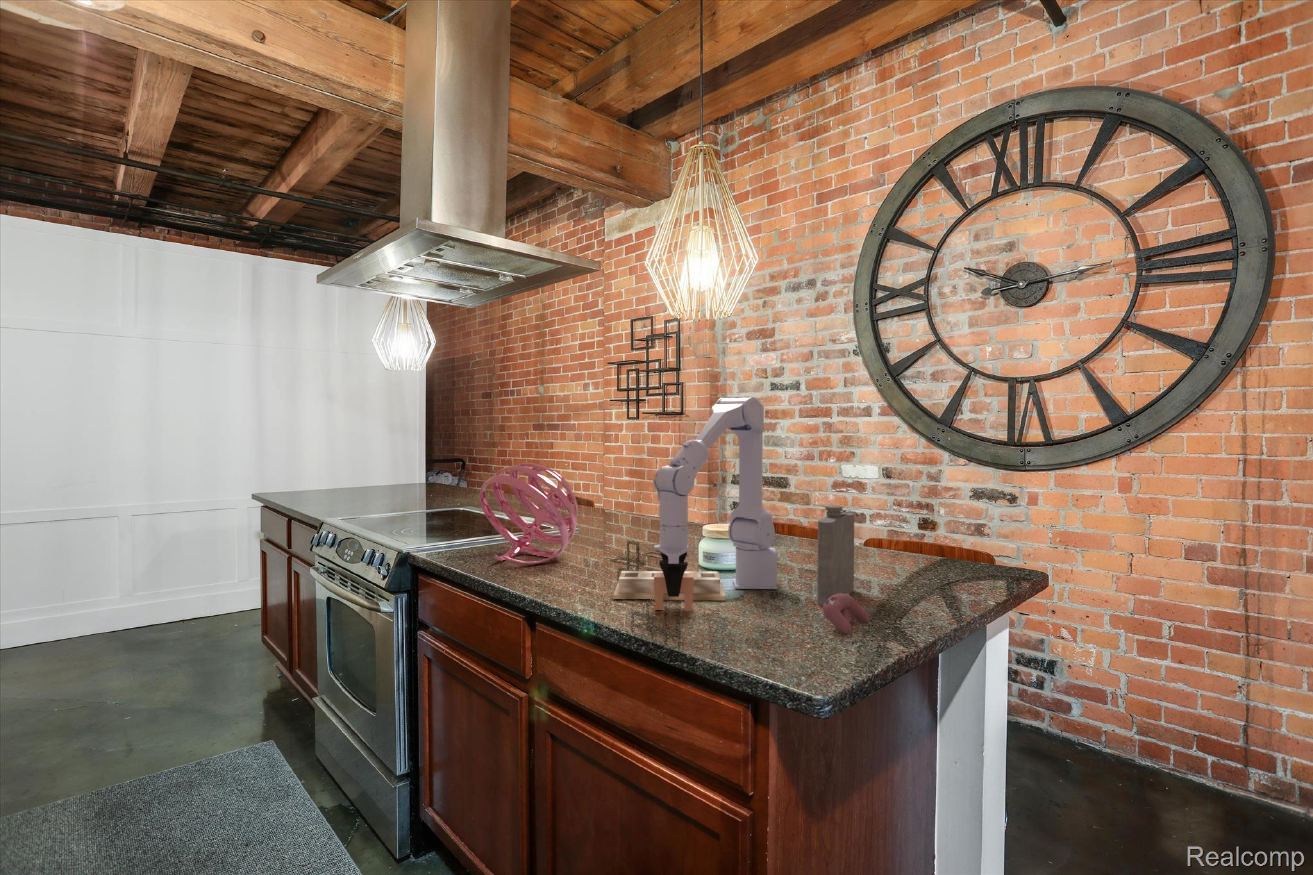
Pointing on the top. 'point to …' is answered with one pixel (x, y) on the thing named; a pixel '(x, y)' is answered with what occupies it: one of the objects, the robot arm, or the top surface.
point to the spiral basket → (532, 510)
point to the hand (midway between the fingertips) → (673, 590)
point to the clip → (686, 587)
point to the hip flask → (835, 554)
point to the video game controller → (843, 612)
